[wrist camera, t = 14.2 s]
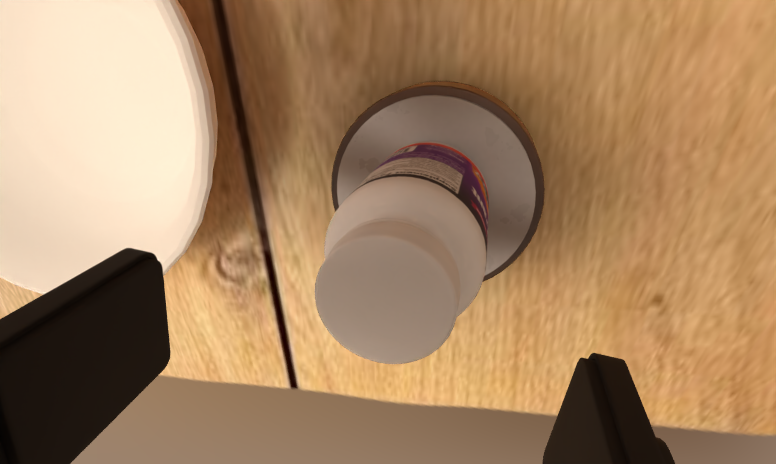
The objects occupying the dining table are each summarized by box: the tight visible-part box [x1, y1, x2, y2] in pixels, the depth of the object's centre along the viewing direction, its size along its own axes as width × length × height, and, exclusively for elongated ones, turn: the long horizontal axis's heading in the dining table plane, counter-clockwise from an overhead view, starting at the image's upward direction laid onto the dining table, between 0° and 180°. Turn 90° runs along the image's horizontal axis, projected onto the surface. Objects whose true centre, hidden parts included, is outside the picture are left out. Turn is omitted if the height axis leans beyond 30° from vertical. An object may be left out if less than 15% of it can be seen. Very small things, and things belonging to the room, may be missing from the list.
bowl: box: [0, 0, 218, 295], centre depth 23 cm, size 20×20×6 cm
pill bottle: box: [315, 141, 489, 364], centre depth 17 cm, size 5×5×10 cm
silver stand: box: [332, 81, 545, 282], centre depth 22 cm, size 10×10×3 cm
